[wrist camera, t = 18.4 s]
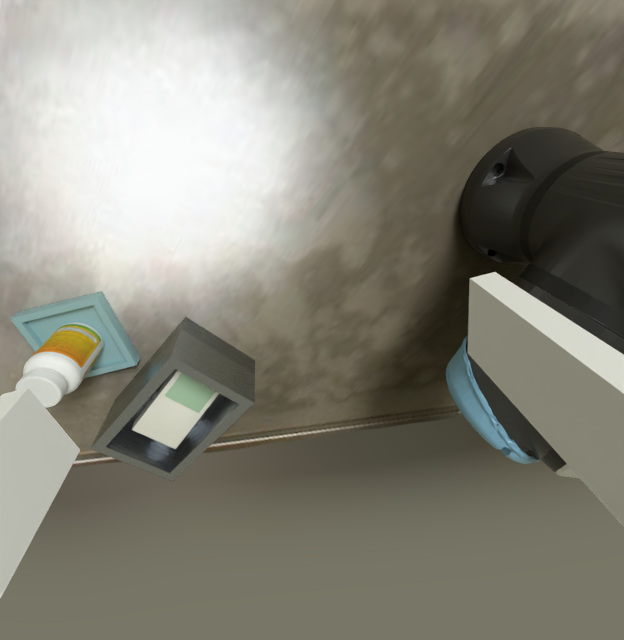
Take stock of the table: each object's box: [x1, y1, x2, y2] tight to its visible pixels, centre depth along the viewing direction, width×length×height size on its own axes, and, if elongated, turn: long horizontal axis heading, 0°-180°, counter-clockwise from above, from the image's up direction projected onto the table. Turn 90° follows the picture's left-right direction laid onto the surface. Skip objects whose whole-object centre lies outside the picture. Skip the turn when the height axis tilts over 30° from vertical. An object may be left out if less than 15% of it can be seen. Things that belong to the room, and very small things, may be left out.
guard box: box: [91, 317, 255, 481], centre depth 45 cm, size 17×11×8 cm, turn 137°
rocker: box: [132, 369, 219, 449], centre depth 44 cm, size 10×7×2 cm
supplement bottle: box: [16, 322, 104, 408], centre depth 39 cm, size 5×5×10 cm
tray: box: [10, 291, 140, 378], centre depth 43 cm, size 10×10×2 cm
